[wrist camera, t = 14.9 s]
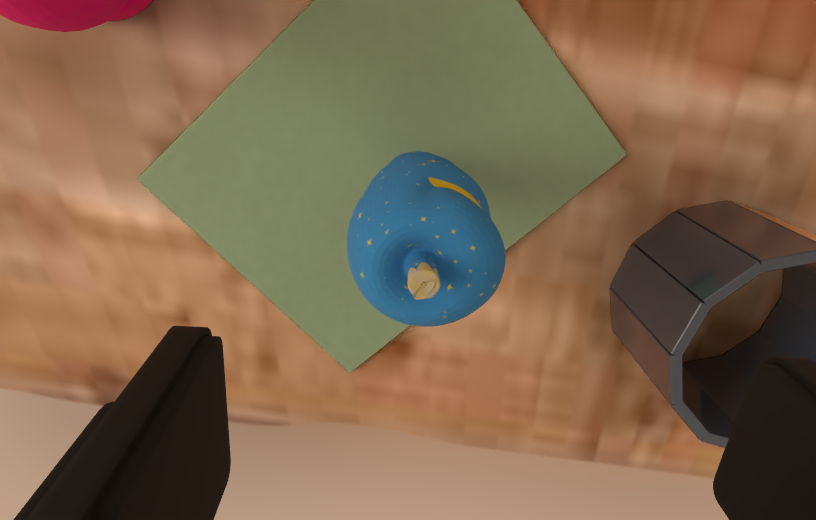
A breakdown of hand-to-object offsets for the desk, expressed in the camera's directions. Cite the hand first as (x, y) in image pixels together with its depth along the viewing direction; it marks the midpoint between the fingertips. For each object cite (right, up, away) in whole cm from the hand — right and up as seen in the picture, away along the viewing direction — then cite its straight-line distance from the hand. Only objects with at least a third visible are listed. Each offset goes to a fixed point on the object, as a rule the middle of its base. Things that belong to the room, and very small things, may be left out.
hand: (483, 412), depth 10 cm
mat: (-3, +8, +19) cm, 21 cm away
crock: (+16, +1, +23) cm, 28 cm away
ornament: (-1, +7, +19) cm, 21 cm away
